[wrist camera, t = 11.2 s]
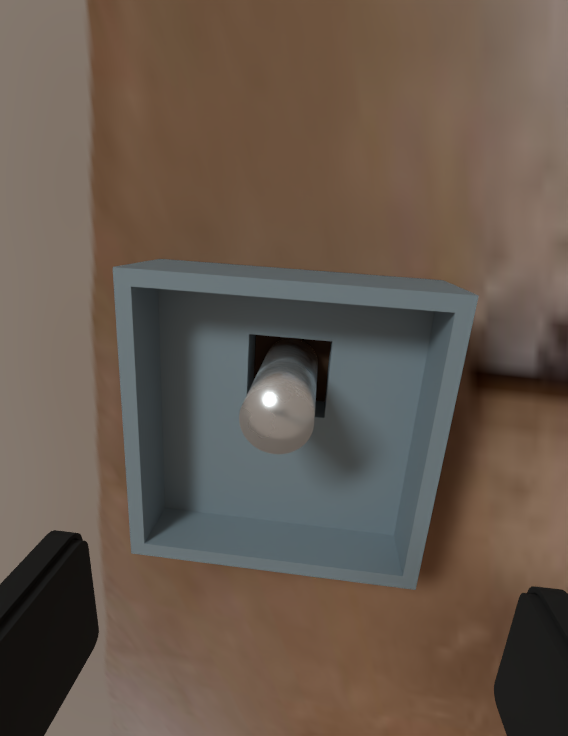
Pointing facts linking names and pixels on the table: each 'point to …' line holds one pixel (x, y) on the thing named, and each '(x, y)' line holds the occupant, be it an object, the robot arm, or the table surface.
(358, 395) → the open box
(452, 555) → the table surface
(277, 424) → the peg
